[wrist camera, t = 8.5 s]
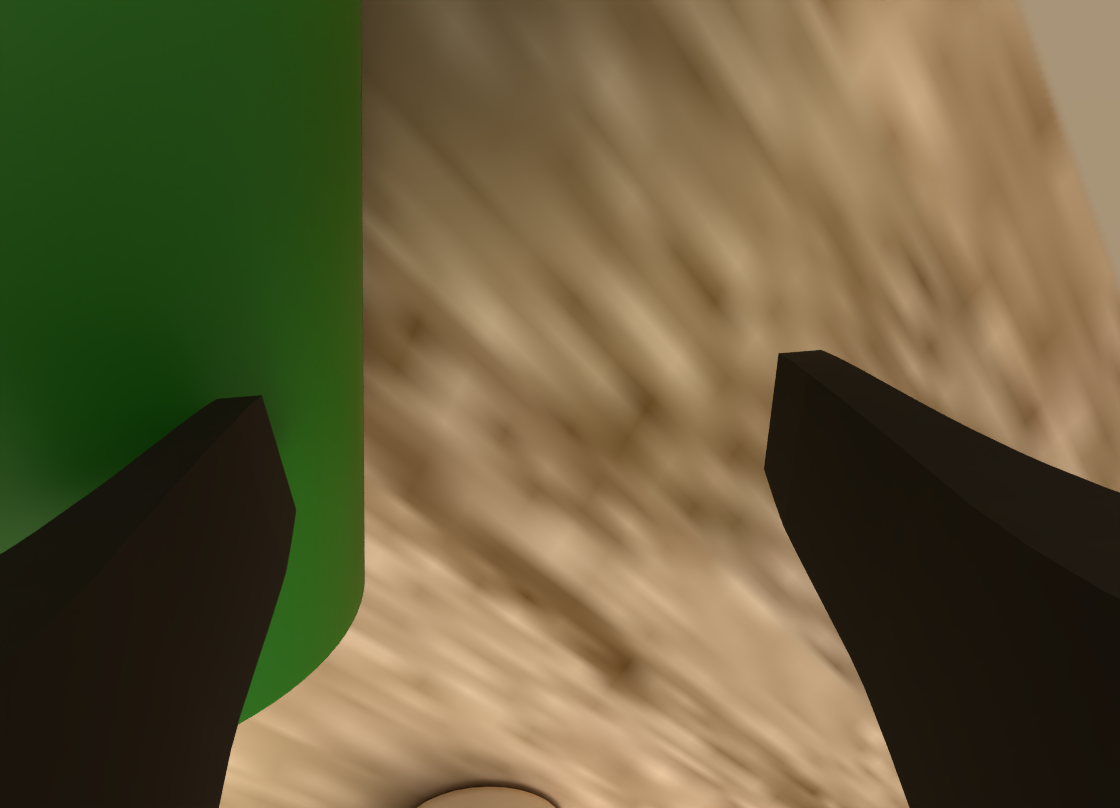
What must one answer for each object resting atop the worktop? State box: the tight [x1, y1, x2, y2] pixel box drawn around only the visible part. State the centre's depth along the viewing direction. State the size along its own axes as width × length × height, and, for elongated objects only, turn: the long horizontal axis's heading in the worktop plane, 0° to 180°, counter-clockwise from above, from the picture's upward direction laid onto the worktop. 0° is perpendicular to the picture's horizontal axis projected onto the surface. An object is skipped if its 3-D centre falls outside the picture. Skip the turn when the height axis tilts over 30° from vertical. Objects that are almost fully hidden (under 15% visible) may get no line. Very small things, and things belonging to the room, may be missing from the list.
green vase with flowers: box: [0, 0, 365, 724], centre depth 13 cm, size 10×9×20 cm
